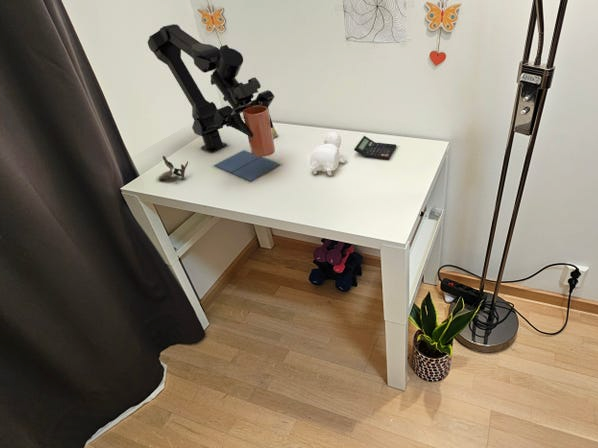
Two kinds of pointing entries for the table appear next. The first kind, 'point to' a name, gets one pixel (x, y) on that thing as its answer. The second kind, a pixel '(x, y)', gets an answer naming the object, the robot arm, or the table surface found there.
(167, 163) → the eagle figurine
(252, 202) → the table surface
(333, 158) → the white lumpy rounded figurine
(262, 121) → the pencil cup
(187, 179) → the table surface
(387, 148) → the calculator
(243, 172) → the napkin
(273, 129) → the pastry
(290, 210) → the table surface
